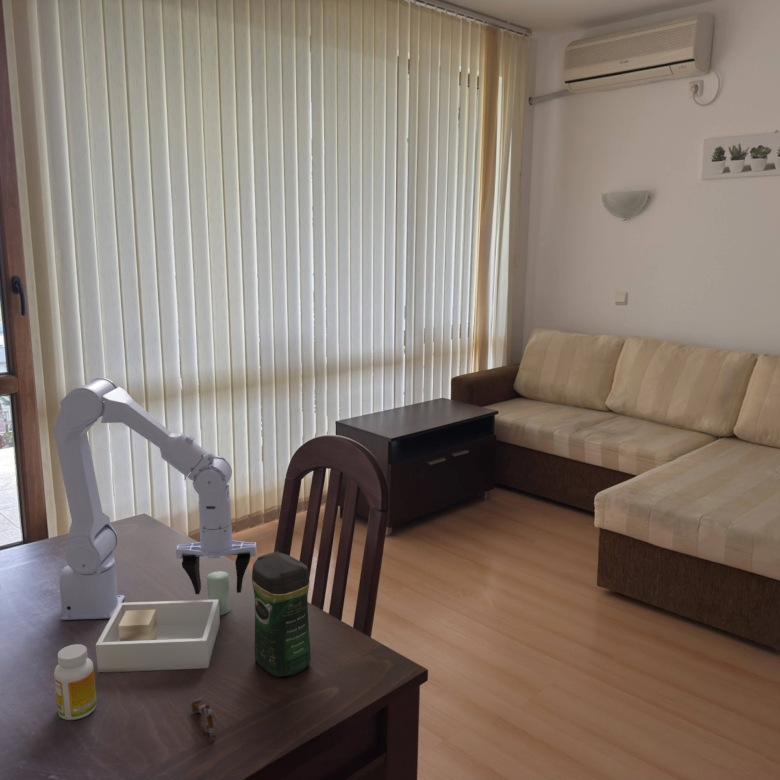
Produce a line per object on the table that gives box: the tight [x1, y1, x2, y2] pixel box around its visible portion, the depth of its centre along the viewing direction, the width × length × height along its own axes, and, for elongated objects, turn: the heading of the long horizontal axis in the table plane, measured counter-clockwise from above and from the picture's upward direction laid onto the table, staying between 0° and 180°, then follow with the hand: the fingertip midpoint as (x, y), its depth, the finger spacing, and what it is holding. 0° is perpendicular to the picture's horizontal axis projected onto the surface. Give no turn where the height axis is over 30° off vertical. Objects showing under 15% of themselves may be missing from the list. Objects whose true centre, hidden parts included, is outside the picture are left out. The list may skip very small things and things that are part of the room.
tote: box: [95, 599, 221, 674], centre depth 124 cm, size 18×14×5 cm
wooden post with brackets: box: [189, 697, 216, 739], centre depth 105 cm, size 2×8×4 cm, turn 32°
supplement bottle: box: [53, 643, 98, 721], centre depth 107 cm, size 5×5×10 cm
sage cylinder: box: [206, 570, 231, 616], centre depth 136 cm, size 4×4×7 cm
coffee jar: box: [251, 550, 312, 678], centre depth 119 cm, size 10×8×19 cm
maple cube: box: [118, 610, 157, 641], centre depth 123 cm, size 5×5×5 cm
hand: (218, 591), depth 136 cm, fingers open, 7 cm apart
